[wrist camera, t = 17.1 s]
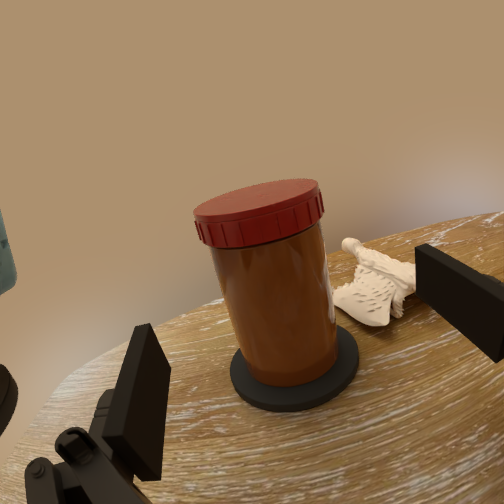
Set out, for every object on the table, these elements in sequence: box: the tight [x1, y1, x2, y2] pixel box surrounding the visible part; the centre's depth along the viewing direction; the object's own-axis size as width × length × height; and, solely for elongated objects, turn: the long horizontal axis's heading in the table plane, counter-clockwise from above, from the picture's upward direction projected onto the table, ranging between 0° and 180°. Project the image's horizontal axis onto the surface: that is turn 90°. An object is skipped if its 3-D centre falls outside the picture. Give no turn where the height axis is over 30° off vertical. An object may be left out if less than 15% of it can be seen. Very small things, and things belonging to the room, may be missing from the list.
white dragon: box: [331, 238, 431, 326], centre depth 26 cm, size 18×10×4 cm, turn 17°
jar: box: [208, 219, 339, 387], centre depth 21 cm, size 7×7×12 cm
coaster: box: [230, 325, 359, 412], centre depth 23 cm, size 10×10×1 cm
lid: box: [193, 179, 324, 248], centre depth 19 cm, size 8×8×2 cm
